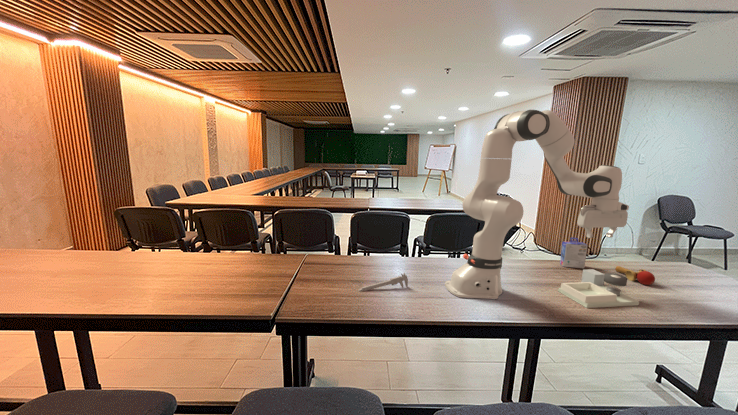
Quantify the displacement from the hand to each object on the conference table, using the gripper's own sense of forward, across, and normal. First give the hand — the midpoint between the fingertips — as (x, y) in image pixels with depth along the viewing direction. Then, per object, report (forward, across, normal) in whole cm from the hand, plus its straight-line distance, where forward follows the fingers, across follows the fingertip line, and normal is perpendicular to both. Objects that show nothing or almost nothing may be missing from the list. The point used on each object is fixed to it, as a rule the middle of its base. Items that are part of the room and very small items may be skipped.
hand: (599, 237), depth 129 cm
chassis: (+21, -9, -12) cm, 26 cm away
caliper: (+21, -91, +4) cm, 94 cm away
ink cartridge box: (+22, +10, +22) cm, 33 cm away
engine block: (+21, 0, 0) cm, 21 cm away
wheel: (+15, -2, -12) cm, 19 cm away
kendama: (+22, +26, +5) cm, 34 cm away
